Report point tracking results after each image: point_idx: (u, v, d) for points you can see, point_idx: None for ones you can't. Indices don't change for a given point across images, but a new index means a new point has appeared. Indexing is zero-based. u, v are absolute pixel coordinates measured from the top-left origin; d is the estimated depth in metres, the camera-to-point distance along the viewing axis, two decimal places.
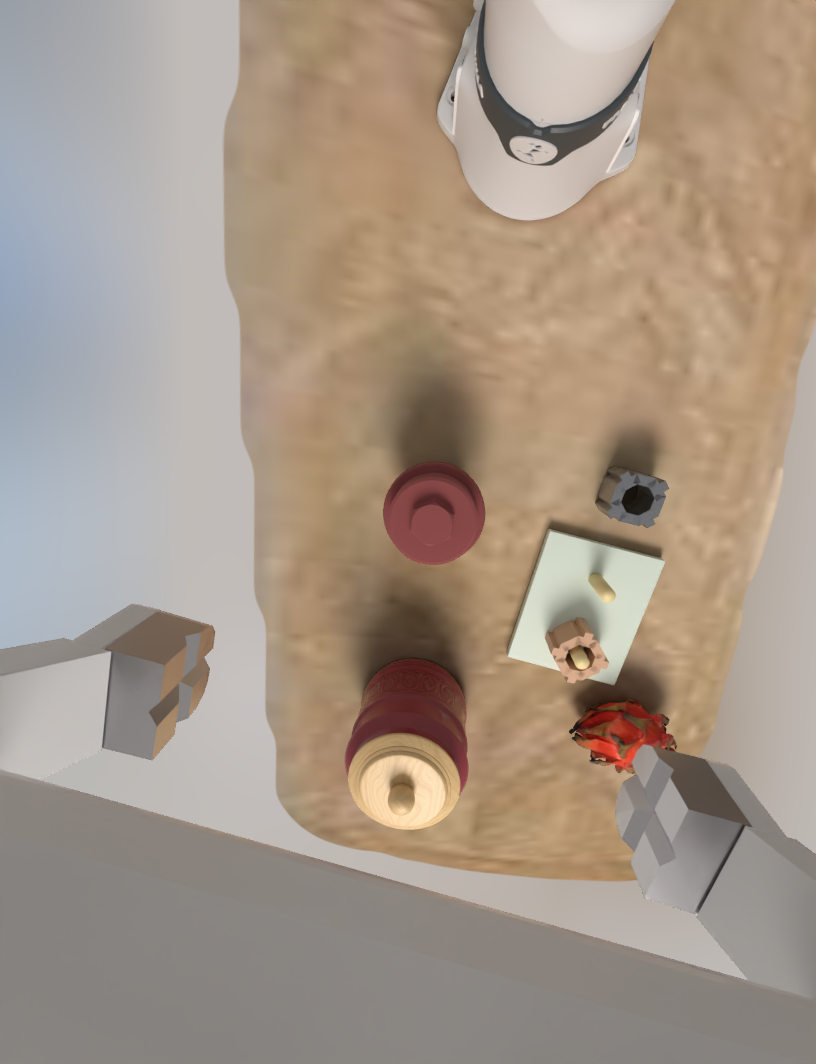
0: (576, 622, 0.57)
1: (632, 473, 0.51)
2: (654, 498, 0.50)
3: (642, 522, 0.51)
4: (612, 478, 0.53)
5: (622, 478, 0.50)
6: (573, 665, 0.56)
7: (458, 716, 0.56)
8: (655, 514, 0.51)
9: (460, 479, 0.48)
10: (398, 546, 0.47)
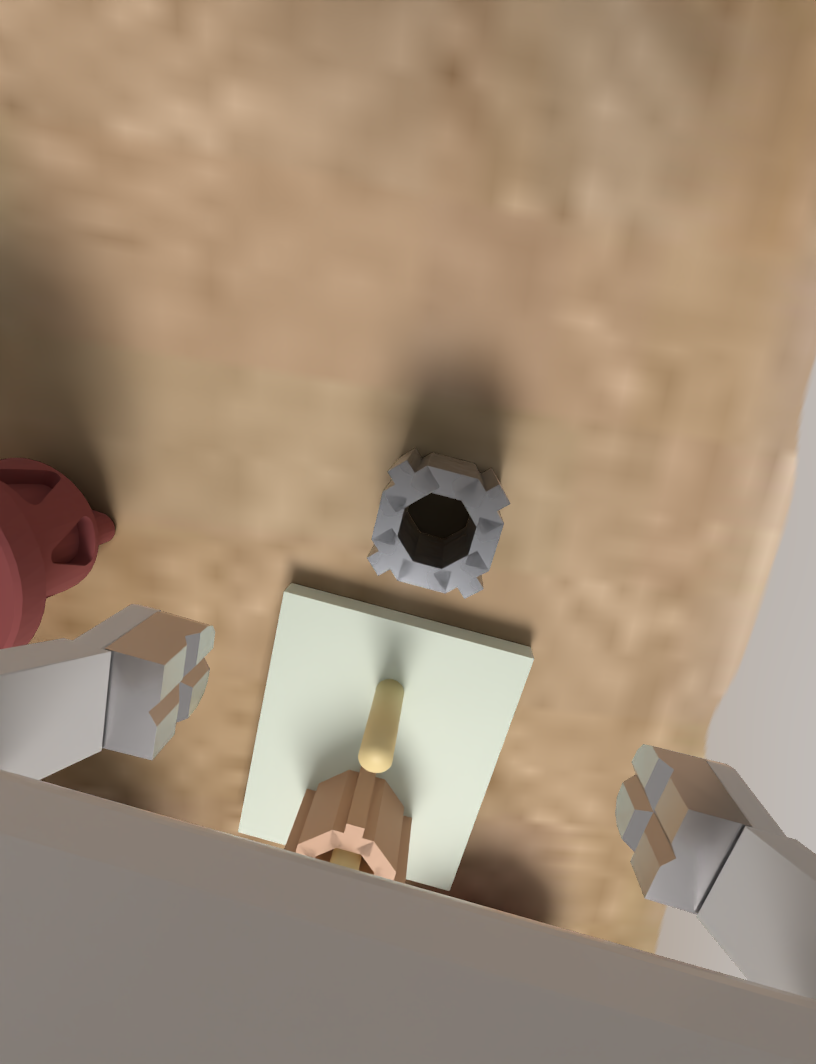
0: (357, 777, 0.27)
1: (424, 465, 0.20)
2: (476, 527, 0.20)
3: (452, 585, 0.21)
4: None
5: (394, 478, 0.20)
6: None
7: None
8: (482, 566, 0.21)
9: None
10: None
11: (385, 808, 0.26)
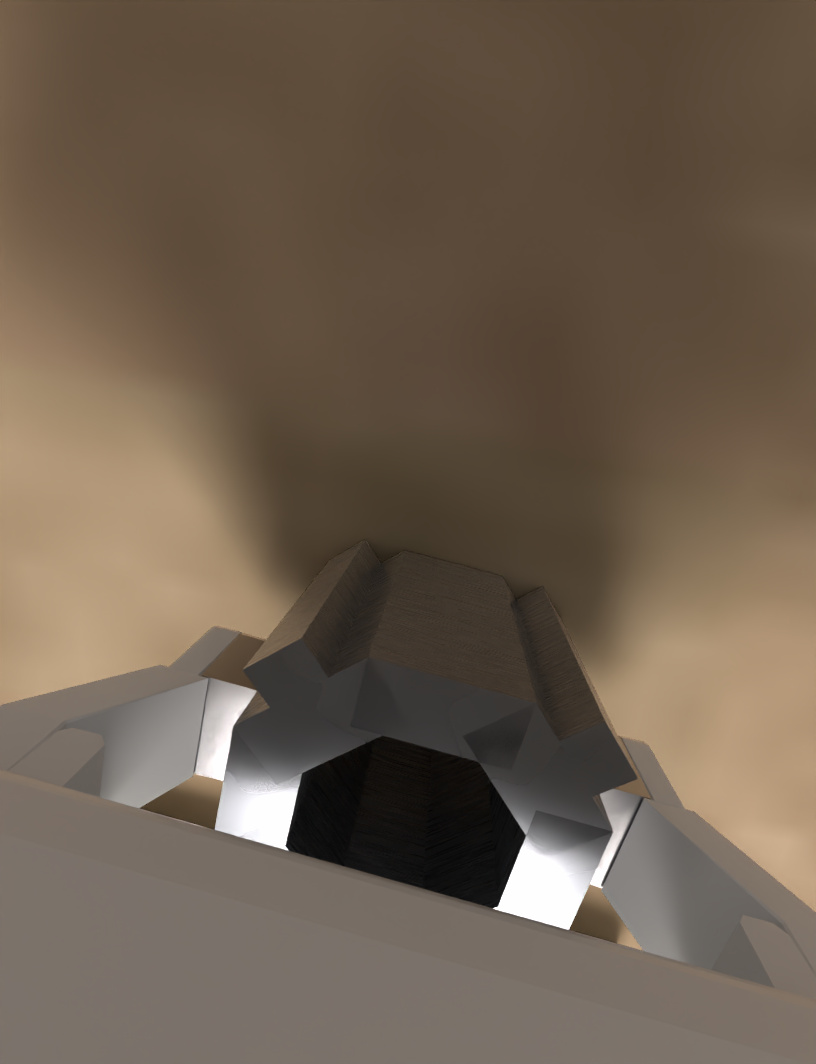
0: None
1: (366, 636, 0.07)
2: (526, 835, 0.07)
3: None
4: None
5: (265, 689, 0.06)
6: None
7: None
8: None
9: None
10: None
11: None
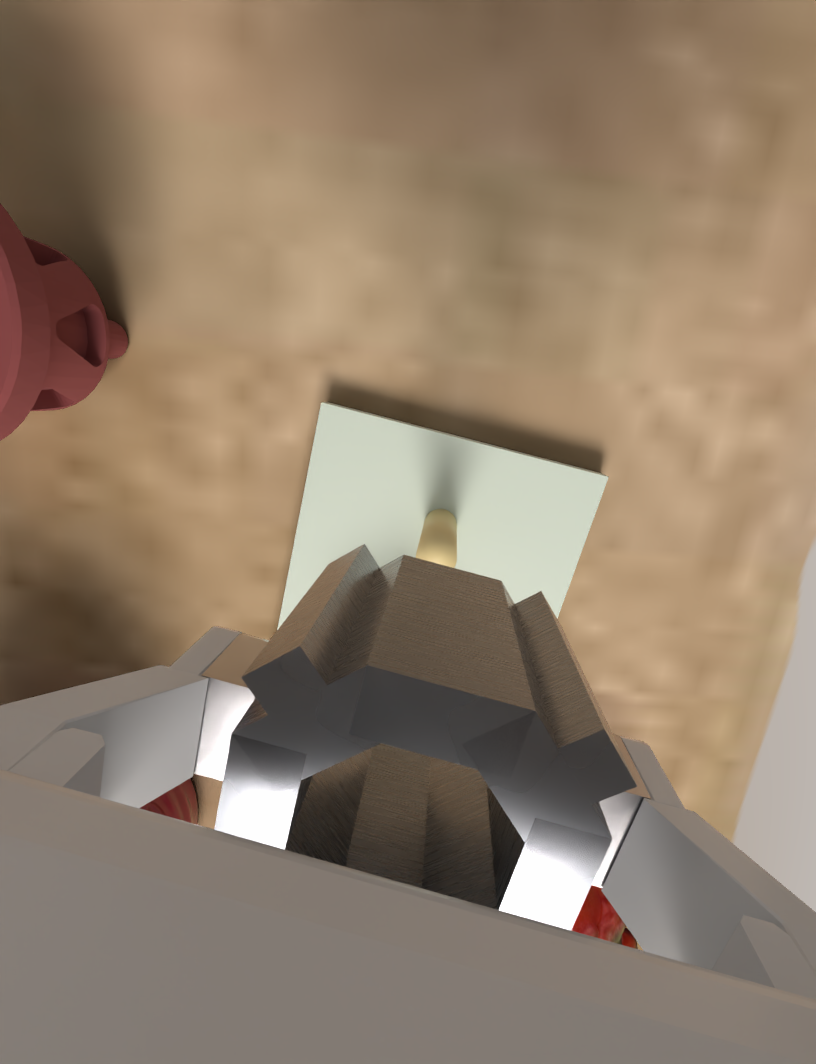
0: None
1: (365, 643, 0.07)
2: (525, 842, 0.07)
3: None
4: None
5: (264, 696, 0.06)
6: None
7: None
8: None
9: None
10: None
11: None
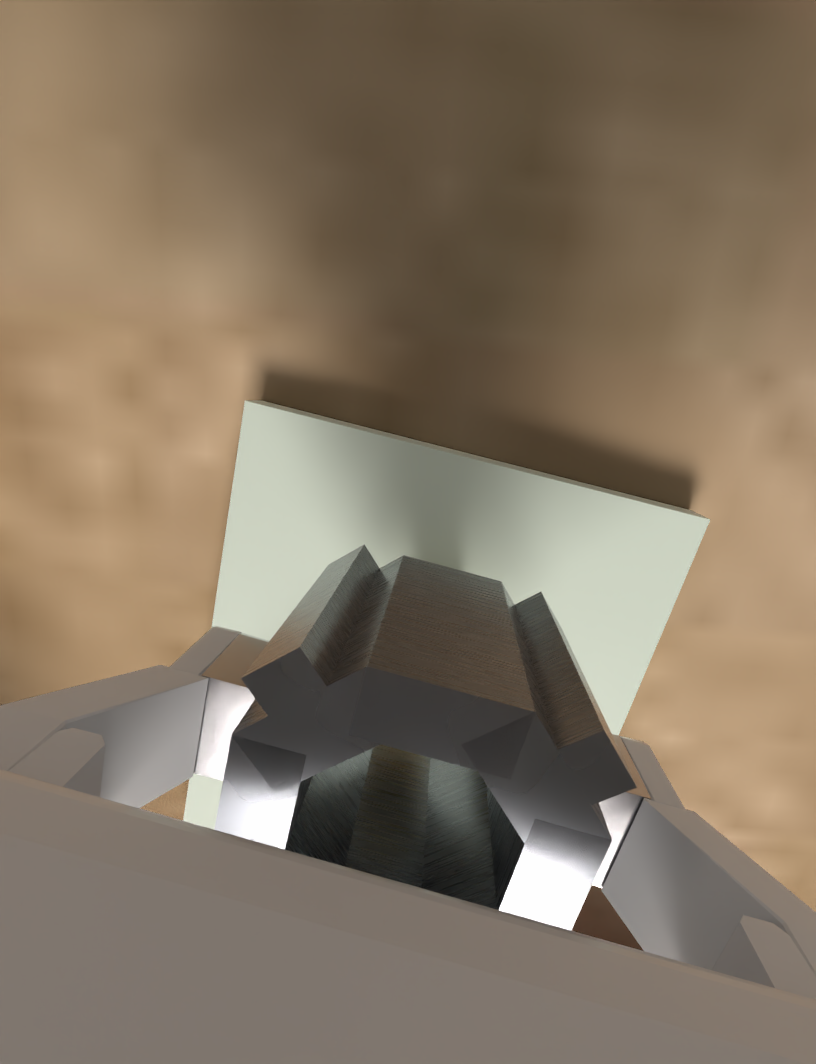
0: None
1: (364, 644, 0.07)
2: (525, 843, 0.07)
3: None
4: None
5: (264, 697, 0.06)
6: None
7: None
8: None
9: None
10: None
11: None
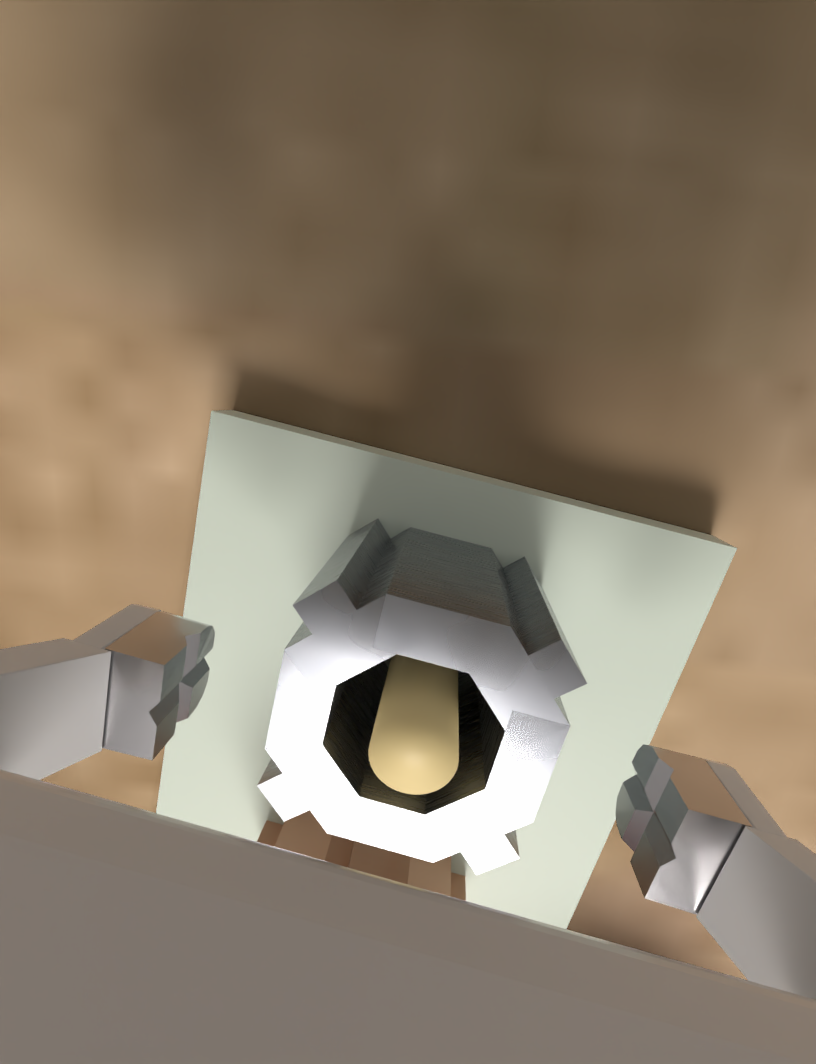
0: None
1: (383, 583, 0.09)
2: (505, 731, 0.09)
3: (450, 847, 0.09)
4: None
5: (309, 619, 0.08)
6: None
7: None
8: (517, 813, 0.09)
9: None
10: None
11: (419, 863, 0.13)
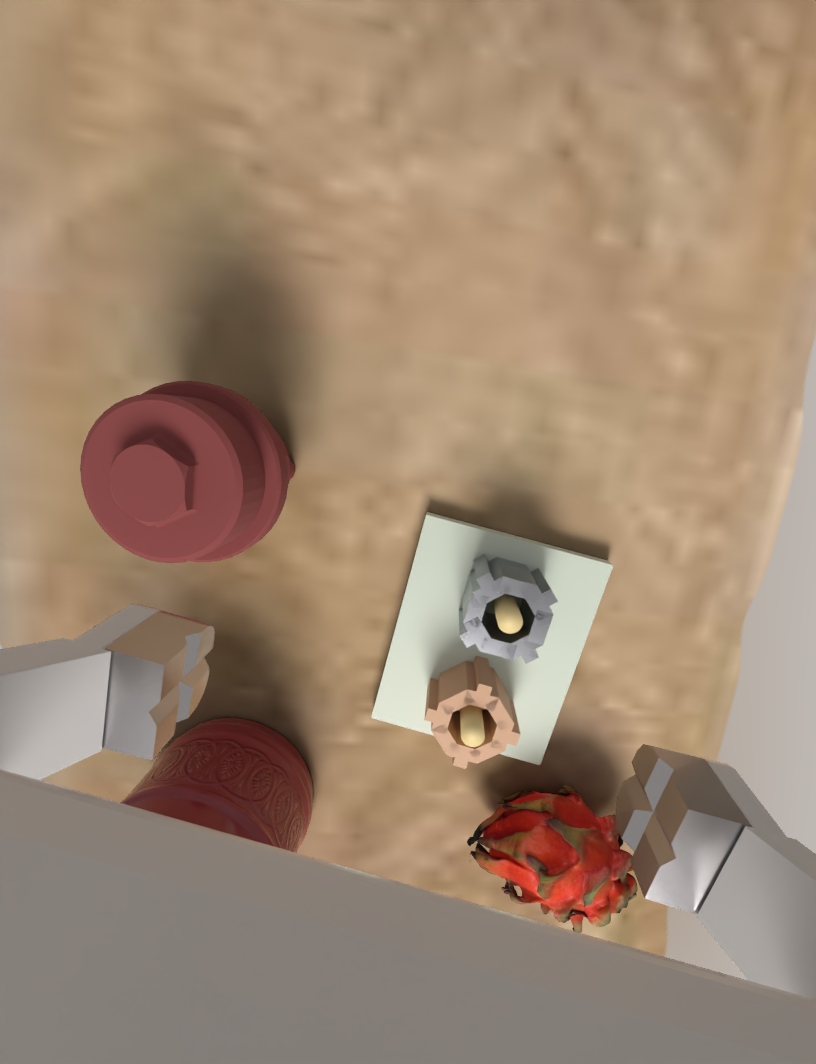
0: (474, 664, 0.35)
1: (499, 574, 0.31)
2: (535, 616, 0.30)
3: (518, 654, 0.31)
4: (475, 577, 0.33)
5: (480, 583, 0.30)
6: None
7: (271, 824, 0.33)
8: (538, 642, 0.31)
9: (231, 410, 0.27)
10: (104, 528, 0.25)
11: (498, 684, 0.34)
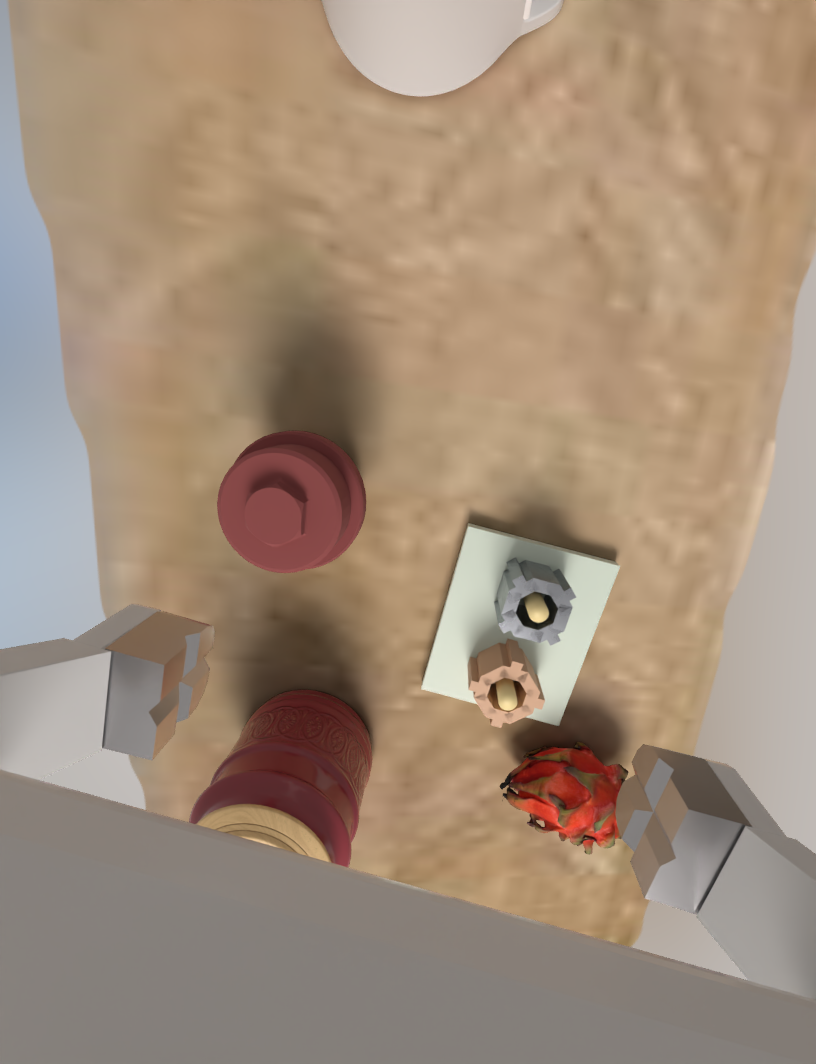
0: (506, 645, 0.44)
1: (529, 575, 0.39)
2: (558, 609, 0.39)
3: (544, 638, 0.39)
4: (509, 577, 0.41)
5: (515, 583, 0.38)
6: None
7: (347, 771, 0.42)
8: (560, 629, 0.39)
9: (326, 453, 0.35)
10: (235, 547, 0.34)
11: (526, 661, 0.43)
